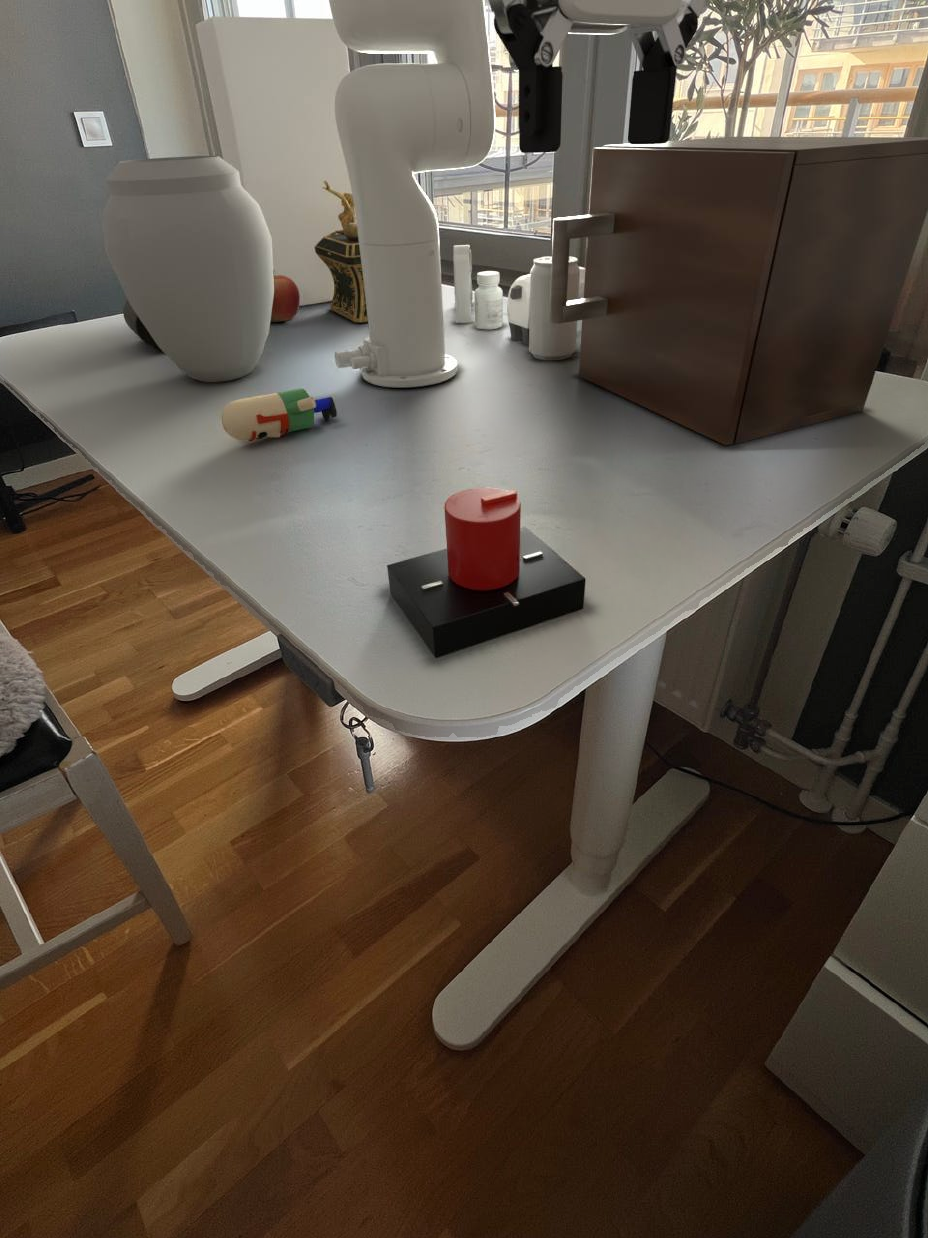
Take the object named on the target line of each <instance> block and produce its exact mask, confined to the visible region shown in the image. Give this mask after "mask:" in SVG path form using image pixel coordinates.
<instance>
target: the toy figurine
mask: <svg viewBox="0 0 928 1238" xmlns="http://www.w3.org/2000/svg"><path fill="white" fill-rule="evenodd" d="M318 413H321V415H322V418H323V420H324V421H325V422H326V421H330V420H331V418H336V417H337V416H338V411H337V407H336V403H335V400H334V398H333V397H332V396H327V397H321V398H314V397H313V396H310V395H309V393H308V392H307V391H306V390H305V389H304V388H297V389H291V390H285V391H280V392H274V393H268V394H263V395H257V396H251V397H245V398H240V399H235V400H231V401H229V402H228V403H227V404H226V405H225V406H224V407H223V409H222V411H221V416H220V420H221V425H222V428H223V429H224V431H225V432H226V434H227V435H229V437H231V438H233V439H235V440H237V441H241V442H242V441H243V442H244V441H248V442H254V441H256V440H263V439H264V438H274V439H279V438H281V436H283V435H287V434H288V433H290V432H295V431H299V430H304V429H311V428H312V427H314V425H315V416H316V415H315V414H318Z"/></svg>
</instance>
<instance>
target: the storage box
mask: <svg viewBox="0 0 928 1238" xmlns="http://www.w3.org/2000/svg"><path fill="white" fill-rule="evenodd" d="M195 30H196V35H197V40H198V45H199V49H200V54H201V59H202V63H203V69H204V73H205V78H206V83H207V88H208V92H209V97H210V102H211V108H212V112H213V116H214V117H213V118H214V122H215V127H216V131H217V135H218V140H219V145H220V151H221V156H222V159H223V160H224V161H225V162H227V163H228V164H230V165H231V166H232V167H234V168H235V169H237V170H238V171H239V176H240V183H241V186H242V187H243V188H244V189H245V190H246V191H247V192H248V193H249V194H250V196H251V197H252V198H253V199H254V200H255V201H256V202H257V203H258V204H259V206H260V208H261V211H262V214H263V216H264V219H265V222H266V224H267V227H268V230H269V232H270V235H271V238H272V255H273V269H274V276H279V275H282V276H285V277H288V278H290V279H291V280H292V281H293V282H294V283H295V284H296V286H297V288H298V290H299V294H300V303H299V307H302V306H307V305H314V304H320V303H327V302H332V299H333V295H334V281H333V277H332V274H331V272H330V270H329V268H328V267H327V265H326V264H325V263H324V262H323V261H322V260H321V258H320V257H319V256H318V255H317V254H316V252H315V245H316V244H317V243H318V242H319V241H320V240H321V239H322V238H323V237H324V236H327V235H329V234H331V233H333V232H335V231H340V230H343V228H342V225H341V221H340V220H339V218H338V216H339V214H341V213H343V212H344V206H342V202H341V201H342V200H341V199H340V198H338V197H337V196H336V195H334V194H333V193H331V192H329V191H327V190H326V189H324V188H323V187H325V188H326V184H325V183H324V181H326V182H327V183H328V185H329V186H330V189H331V190H333V191H336V192H338V193H340V194H342V195H343V194H344V193H348V194H349V193H350V194H352V189H351V184H350V179H349V174H348V170H347V166H346V162H345V157H344V153H343V150H342V146H341V142H340V138H339V134H338V129H337V124H336V117H335V96H336V91H337V88H338V86H339V84H340V82H341V81H342V79H343V78H344V77H345V76H346V75H347V74H348V73H350V72H351V71H350V70H351V69H350V61H349V51H348V47H347V46H346V45H345V44H344V43H343V42H342V40H341V38H340V37H339V35H338V33H337V30H336V27H335V24H334V21H333V18H314V17H313V18H307V17H305V18H304V17H263V16H262V17H259V16H258V17H256V16H254V17H253V16H210V17H209V18H206V19H205V20H204V19H203V20H202V21H200V22H199V23H196V24H195ZM343 196H344V195H343ZM354 211H355V208H354ZM355 217H356V215H355ZM355 223H356V222H355ZM336 234H338V233H336ZM336 234H335V235H336Z"/></svg>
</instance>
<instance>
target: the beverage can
mask: <svg viewBox="0 0 928 1238" xmlns="http://www.w3.org/2000/svg"><path fill="white" fill-rule="evenodd" d="M578 262H579V261H578V258H577V257H575V256H570V255H569V268H568V287H567V301H571V300H578V298H579V281H580V268H579V267H580V266H578V265H577V263H578ZM551 271H552V255H548V256H540V257H537V258H534V259H533V265H532V267H531V269H530V272H529V274H530V327H529V345H528V351H529V353H530V354H532V355H533V357H534V358H536V359H538V360H541V361H542V360H543V361H561V360H566V359H568V358H570V357H571V355H572V354H574V353H575V352H576V348H577V332H578V321H572V322H566V323H560V324H554V323H550V298H551Z"/></svg>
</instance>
